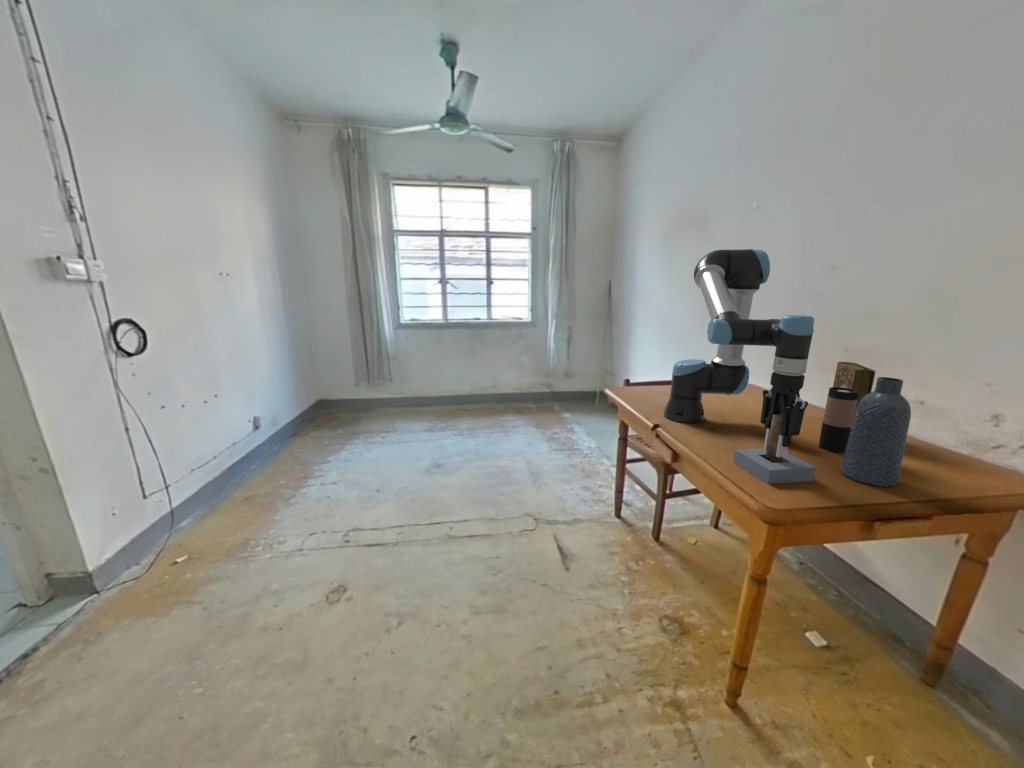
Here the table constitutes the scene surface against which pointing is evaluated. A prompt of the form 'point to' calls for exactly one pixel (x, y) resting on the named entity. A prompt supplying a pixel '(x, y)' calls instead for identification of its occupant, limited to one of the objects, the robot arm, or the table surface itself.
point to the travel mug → (838, 419)
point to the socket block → (774, 467)
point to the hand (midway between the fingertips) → (774, 453)
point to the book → (854, 378)
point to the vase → (878, 435)
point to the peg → (774, 439)
